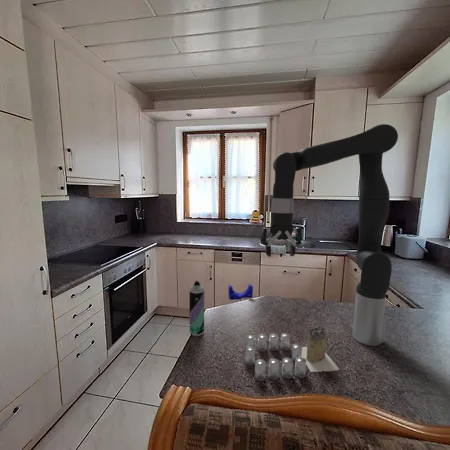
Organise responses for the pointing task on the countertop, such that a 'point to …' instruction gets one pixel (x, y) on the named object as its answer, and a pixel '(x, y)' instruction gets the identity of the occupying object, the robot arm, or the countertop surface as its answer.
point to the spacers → (274, 363)
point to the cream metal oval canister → (316, 344)
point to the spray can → (196, 309)
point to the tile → (319, 363)
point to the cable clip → (237, 296)
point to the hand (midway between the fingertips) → (280, 256)
